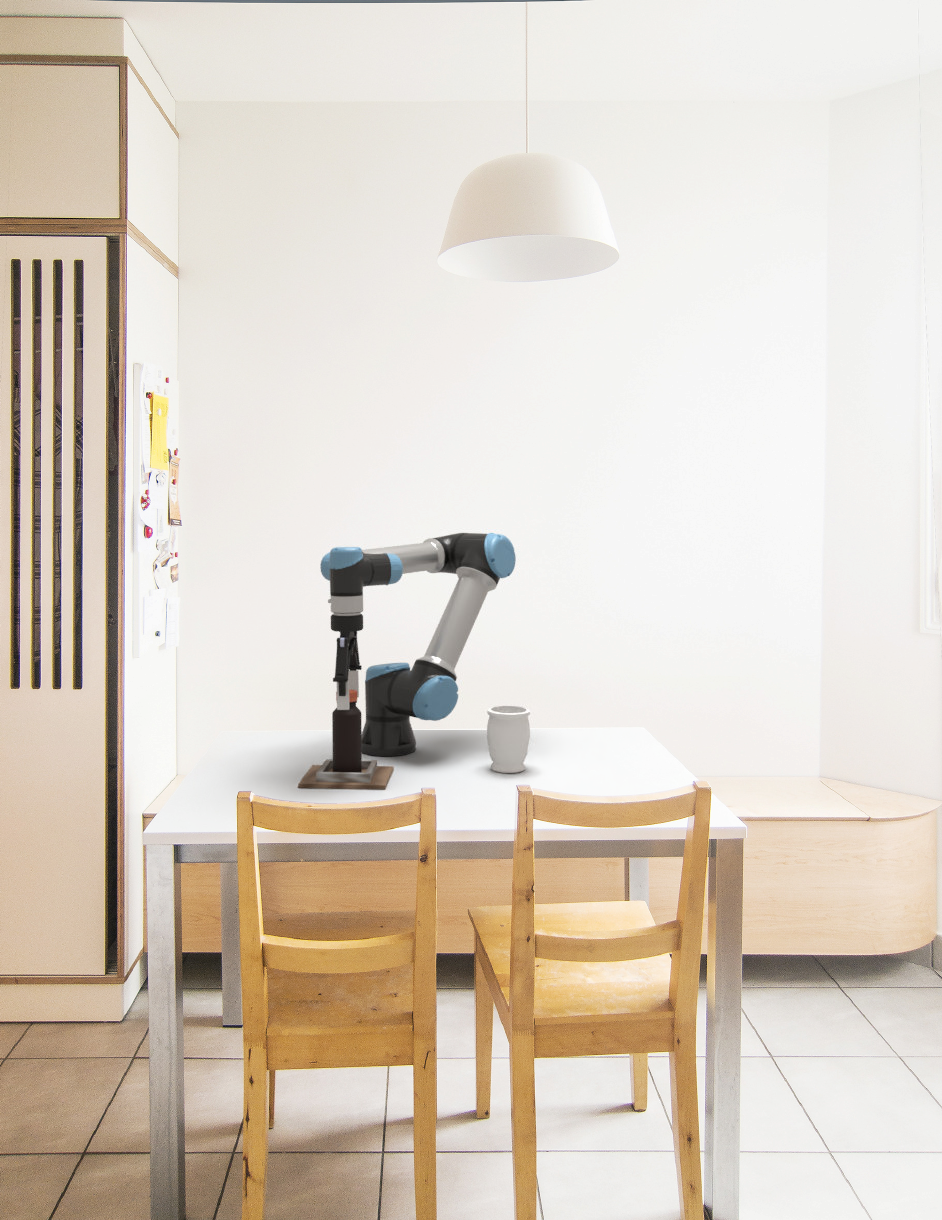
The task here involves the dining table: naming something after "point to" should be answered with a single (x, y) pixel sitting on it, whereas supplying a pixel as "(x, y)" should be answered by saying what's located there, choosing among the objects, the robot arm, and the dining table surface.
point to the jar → (508, 737)
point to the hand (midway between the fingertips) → (348, 703)
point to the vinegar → (347, 737)
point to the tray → (347, 777)
